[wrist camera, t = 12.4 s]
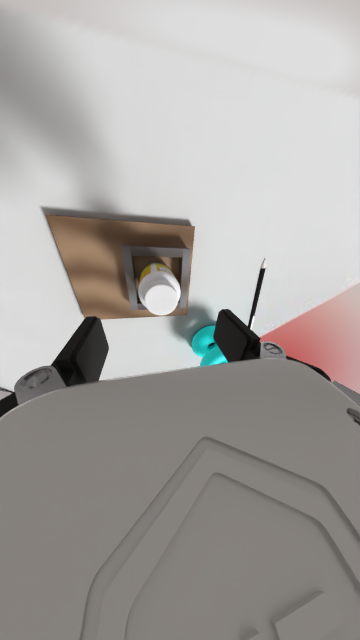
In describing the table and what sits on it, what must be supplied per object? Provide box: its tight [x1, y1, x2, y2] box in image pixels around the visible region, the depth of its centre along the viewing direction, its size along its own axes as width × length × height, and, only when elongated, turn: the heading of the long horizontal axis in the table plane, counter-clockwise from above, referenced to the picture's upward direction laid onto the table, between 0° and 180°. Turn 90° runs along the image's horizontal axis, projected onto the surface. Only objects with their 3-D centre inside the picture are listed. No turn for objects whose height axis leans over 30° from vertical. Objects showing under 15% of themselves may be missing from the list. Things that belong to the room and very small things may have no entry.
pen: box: [248, 260, 266, 329], centre depth 32 cm, size 1×19×1 cm, turn 6°
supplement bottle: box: [138, 262, 181, 315], centre depth 20 cm, size 6×6×10 cm
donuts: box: [192, 326, 228, 366], centre depth 32 cm, size 10×10×10 cm
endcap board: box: [46, 215, 195, 319], centre depth 23 cm, size 16×20×4 cm
